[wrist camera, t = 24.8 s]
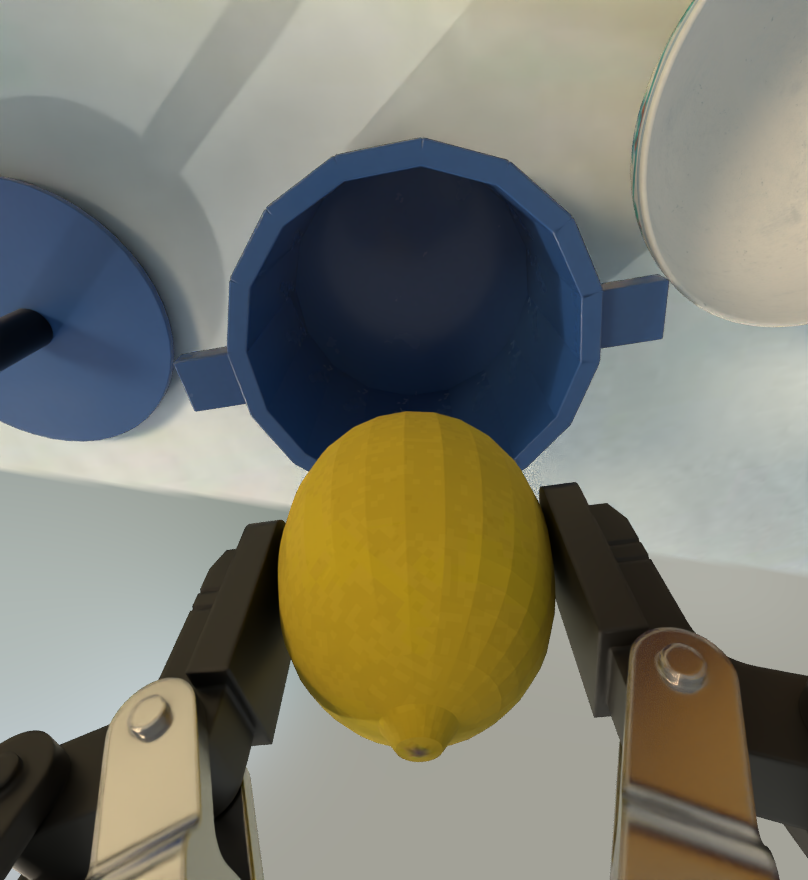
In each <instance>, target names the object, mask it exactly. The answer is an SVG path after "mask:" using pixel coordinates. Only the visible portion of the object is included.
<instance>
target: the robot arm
mask: <svg viewBox="0 0 808 880" xmlns="http://www.w3.org/2000/svg"><path fill="white" fill-rule="evenodd" d="M539 504H540V507H541V509H542V511H543V514H544V517H545V521H546V524H547V528H548V534H549V539H550V545H551V552H552V558H553V564H554V573H555V594H556V598H555V599H556V602H557V605H558V608H559V611H560V614H561V617H562V620H563V623H564V626H565V629H566V632H567V635H568V639H569V641H570V645H571V648H572V651H573V654H574V657H575V660H576V663H577V666H578V669H579V672H580V675H581V679H582V682H583V685H584V688H585V691H586V694H587V697H588V700H589V703H590V706H591V709H592V712H593V716H594V717H606V716H611V717H612V720H613V722H614V725H615V728H616V731H617V734H618V736H619V739H620V742H619V753H618V766H617V781H616V797H615V811H614V825H613V840H612V855H611V869H610V880H780V879H779V875H778V871H777V867H776V863H775V860H774V858H773V855H772V853H771V851H770V850H769V848H768V847H767V846H765V845H764V844H763V843H762V841H761V838H760V835H759V831H758V825H757V819H756V816H757V817H761V818H764V819H768V820H771V821H775V822H779V823H782V824H784V826H785V827H786V829H787V830H788V831H789V833H790V834H791V836H792V837H793V838H794V840H795V841H796V842H797V844H798V845H799V847H800V848H801V849H802V851H803V852H804V854H805V855H806V856H807V858H808V676H805V675H800V674H794V673H789V672H784V671H778V670H773V669H768V668H762V667H757V666H753V665H749V664H745V663H742V662H739V661H736V660H734V659H731V658H729V657H727V656H726V655H725V654H724V653H723V651H721V650H720V649H719V648H718V647H717V646H716V645H715V644H713V643H712V642H710V641H709V640H707V639H706V638H704V637H702V636H700V635H698V634H696V633H695V632H694V631H693V630H692V628H691V627H690V625H689V624H688V622H687V620H686V619H685V617H684V615H683V614H682V612H681V610H680V608H679V607H678V605H677V603H676V601H675V600H674V598H673V597H672V595H671V593H670V592H669V589H668V588H667V586H666V584H665V583H664V581H663V579H662V578H661V576H660V574H659V572H658V571H657V569H656V567H655V565H654V564H653V562H652V560H651V559H649V557H648V553H647V552H646V550H645V548H644V547H643V545H642V543H641V542H639V538H638V536H637V535H636V533H635V531H634V529H633V528H632V526H631V524H630V523H629V521H628V519H627V518H626V517H624V516H623V515H622V514H621V513H619V512H618V511H617V510H615V509H614V508H613V507H611V506H610V505H609V504H608V503H603V504H595V505H588V503H587V501H586V499H585V497H584V495H583V493H582V491H581V489H580V487H579V485H578V484H577V483H576V482H572V483H564V484H557V485H549V486H541V487H540V490H539ZM285 524H286V523H285V522H284V521H283V520H275V521H268V522H261V523H253V524H248V525H247V526H246V527H245V529H244V532H243V534H242V536H241V539H240V541H239V544H238V546H237V548H236V549H232V550H226V551H225V552H224V554H223V555H222V556H221V557H220V558H219V559H218V560H217V561H216V562H215V563H214V565H213V566H212V567H211V568H210V569H209V571H208V573H207V576H206V578H205V580H204V582H203V584H202V587H201V589H200V591H201V592H200V593H199V594H198V595H197V597H196V599H195V602H194V604H193V606H192V607H193V610H192V611H190V613H189V615H188V617H187V619H186V621H185V623H184V626H183V628H182V630H181V632H180V634H179V637H178V639H177V641H176V643H175V645H174V647H173V650H172V652H171V654H170V656H169V658H168V660H167V663H166V665H165V667H164V669H163V671H162V674H161V676H160V678H159V680H157V681H155V682H152V683H150V684H148V685H146V686H145V687H143V688H141V689H140V690H138V691H137V692H136V693H135V694H133V695H132V696H131V697H130V698H129V699H128V700H127V701H126V702H125V703H124V704H123V705H122V706H121V707H120V709H119V710H118V711H117V713H116V714H115V716H114V717H113V719H112V721H111V723H110V724H109V725H107V726H104V727H102V728H100V729H97V730H95V731H92V732H90V733H87V734H85V735H83V736H80V737H78V738H75V739H73V740H70V741H68V742H65V743H63V744H61V745H59V744H58V743H57V742H56V741H55V740H54V739H52V737H51V736H49V735H48V734H47V733H45V732H43V731H27V732H24V733H20V734H18V735H15V736H13V737H11V738H9V739H7V740H6V741H4V742H2V743H1V744H0V880H4V879H5V878H6V876H7V875H8V873H9V872H10V870H11V869H12V868H13V869H15V870H16V871H18V872H19V873H20V874H21V875H20V877H19V878H18V880H264V875H263V868H262V860H261V853H260V846H259V838H258V830H257V823H256V815H255V808H254V800H253V793H252V785H251V778H250V774H249V772H248V770H247V768H246V765H247V761H248V757H249V753H250V749H251V746H256V745H268V744H272V742H273V738H274V733H275V729H276V724H277V720H278V715H279V711H280V706H281V702H282V697H283V693H284V688H285V683H286V679H287V674H288V670H289V665H290V660H291V658H290V655H289V653H288V651H287V648H286V646H285V643H284V639H283V634H282V630H281V623H280V614H279V595H278V559H279V550H280V543H281V539H282V535H283V530H284V527H285Z"/></svg>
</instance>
